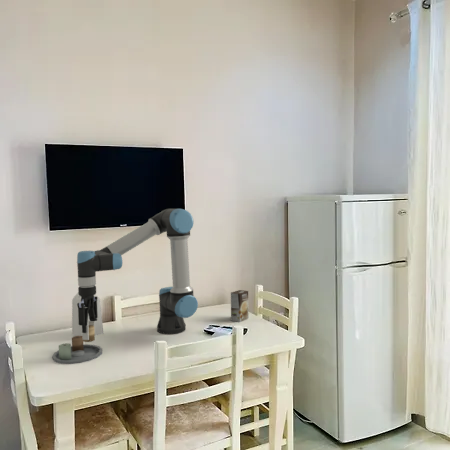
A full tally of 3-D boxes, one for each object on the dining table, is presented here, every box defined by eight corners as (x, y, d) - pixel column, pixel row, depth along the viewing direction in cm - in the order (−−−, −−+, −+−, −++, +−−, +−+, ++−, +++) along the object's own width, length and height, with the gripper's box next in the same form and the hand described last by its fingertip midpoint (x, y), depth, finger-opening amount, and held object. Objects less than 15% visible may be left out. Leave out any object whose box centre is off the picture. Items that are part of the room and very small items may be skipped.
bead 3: (96, 338, 192) (96, 325, 192) (91, 342, 188) (90, 328, 187) (86, 338, 193) (86, 324, 193) (80, 341, 189) (80, 328, 188)
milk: (103, 333, 224) (101, 284, 222) (82, 339, 216) (80, 288, 214) (92, 328, 232) (90, 281, 231) (72, 334, 224) (69, 285, 223)
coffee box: (240, 322, 239) (239, 293, 238) (230, 320, 242) (230, 292, 241) (249, 318, 246) (248, 290, 245) (239, 316, 250) (239, 289, 249)
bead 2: (83, 351, 196) (83, 338, 196) (72, 352, 195) (71, 339, 194) (83, 347, 201) (82, 335, 201) (72, 349, 199) (71, 336, 199)
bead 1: (73, 356, 190) (73, 343, 189) (67, 361, 185) (66, 347, 184) (63, 356, 191) (62, 342, 190) (56, 360, 186) (56, 346, 185)
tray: (110, 348, 200) (110, 345, 200) (87, 366, 180) (87, 362, 180) (69, 346, 205) (69, 343, 204) (42, 363, 184) (42, 360, 184)
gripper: (89, 281, 198) (91, 330, 200) (68, 289, 181) (70, 343, 182) (104, 282, 197) (106, 331, 198) (84, 290, 179) (86, 344, 181)
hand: (89, 337), depth 190 cm, fingers closed on bead 3, 5 cm apart
